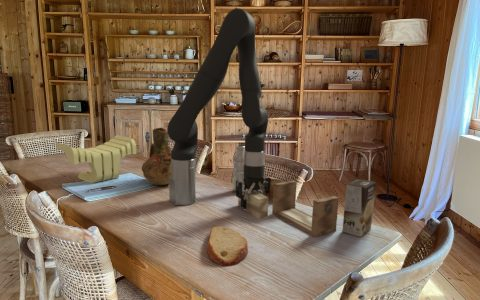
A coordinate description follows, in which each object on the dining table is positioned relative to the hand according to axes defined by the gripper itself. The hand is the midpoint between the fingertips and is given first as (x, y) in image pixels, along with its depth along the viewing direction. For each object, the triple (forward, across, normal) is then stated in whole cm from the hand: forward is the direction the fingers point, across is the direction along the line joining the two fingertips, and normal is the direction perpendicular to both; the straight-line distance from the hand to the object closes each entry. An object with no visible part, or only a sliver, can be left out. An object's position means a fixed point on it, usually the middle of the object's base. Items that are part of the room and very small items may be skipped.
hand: (252, 206), depth 133 cm
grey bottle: (+2, +8, +21) cm, 23 cm away
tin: (+2, +15, +9) cm, 18 cm away
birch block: (+2, 0, 0) cm, 2 cm away
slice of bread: (+2, -24, -20) cm, 31 cm away
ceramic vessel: (+2, -17, +46) cm, 49 cm away
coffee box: (+2, +20, -31) cm, 37 cm away
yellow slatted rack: (+1, -39, +69) cm, 79 cm away
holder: (+2, +9, -17) cm, 19 cm away
